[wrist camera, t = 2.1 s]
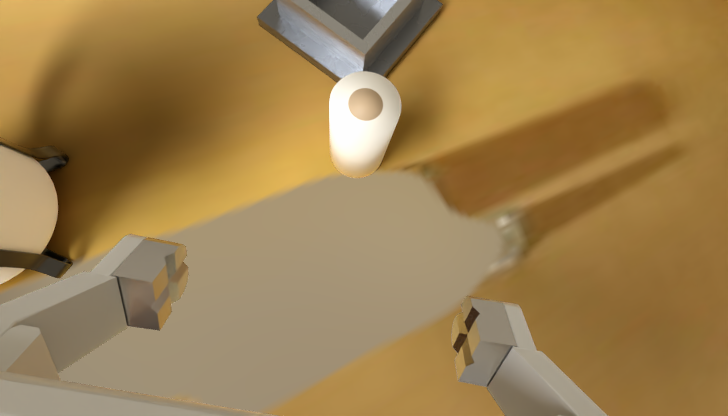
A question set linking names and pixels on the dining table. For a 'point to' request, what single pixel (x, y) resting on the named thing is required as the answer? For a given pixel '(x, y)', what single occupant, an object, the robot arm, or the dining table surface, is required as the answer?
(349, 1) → the roll stand
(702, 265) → the dining table surface
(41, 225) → the coffee press
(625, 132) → the dining table surface
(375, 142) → the paper roll
